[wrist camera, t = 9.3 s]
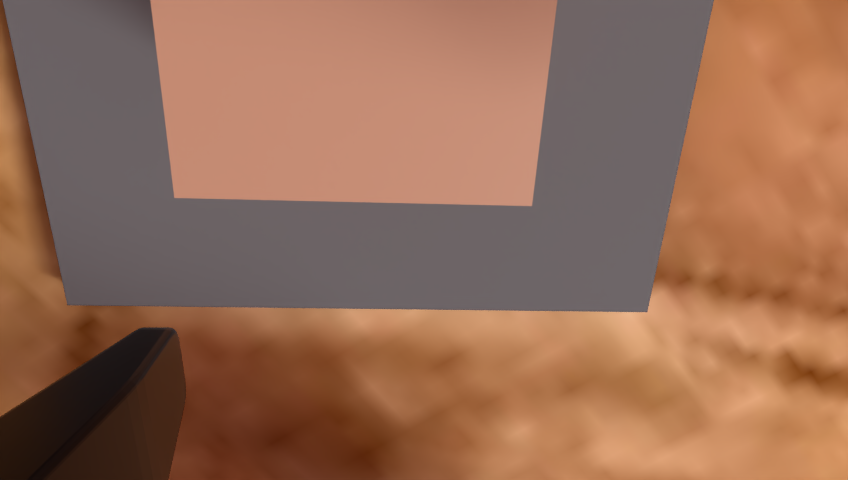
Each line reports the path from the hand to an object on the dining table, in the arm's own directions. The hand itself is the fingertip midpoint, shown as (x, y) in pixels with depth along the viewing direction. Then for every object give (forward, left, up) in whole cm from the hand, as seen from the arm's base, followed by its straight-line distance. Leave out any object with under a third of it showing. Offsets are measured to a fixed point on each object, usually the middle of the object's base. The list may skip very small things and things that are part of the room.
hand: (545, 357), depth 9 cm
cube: (+3, +3, -10) cm, 11 cm away
